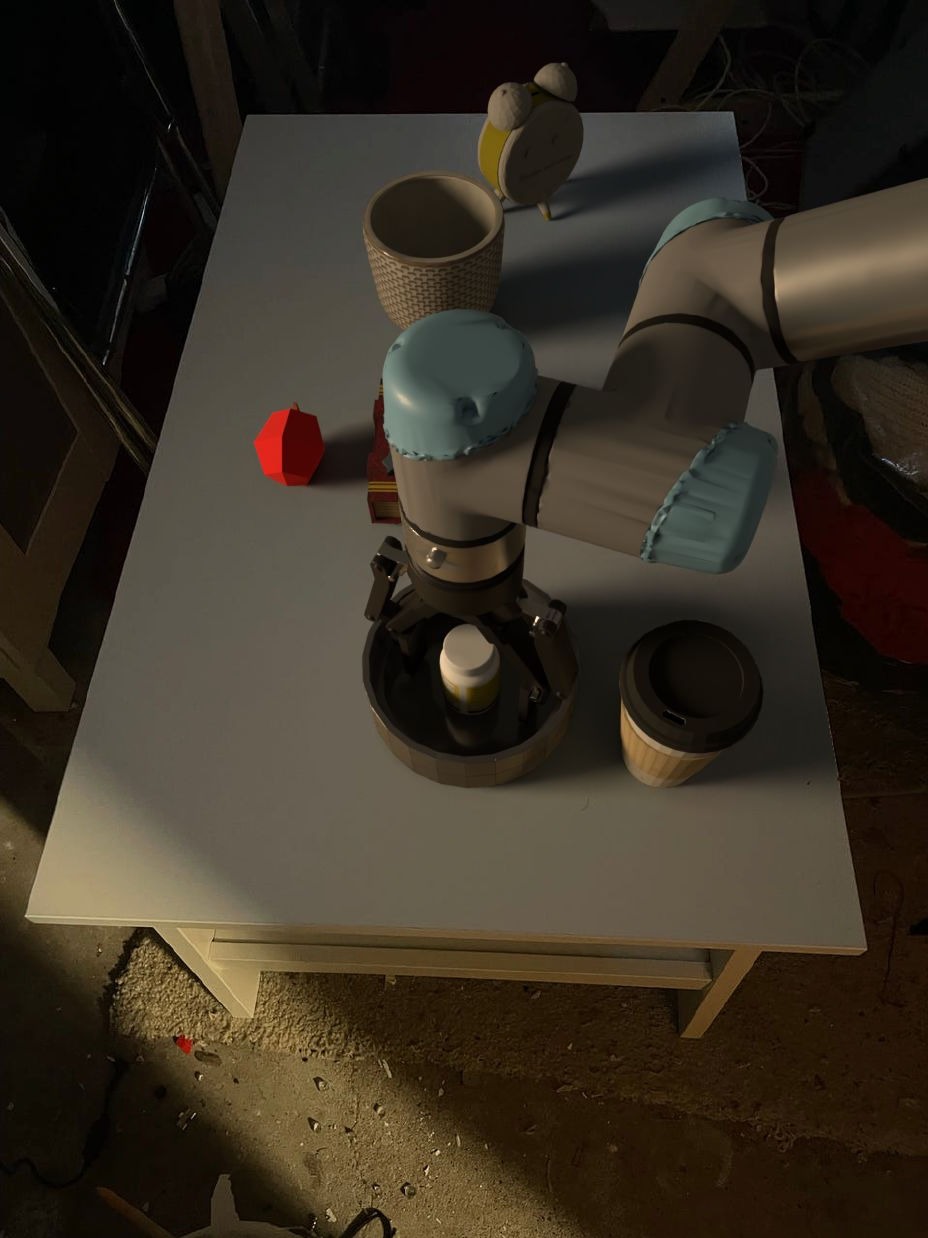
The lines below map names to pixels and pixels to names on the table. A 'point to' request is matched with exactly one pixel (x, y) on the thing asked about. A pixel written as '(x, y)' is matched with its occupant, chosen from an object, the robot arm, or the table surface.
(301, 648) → the table surface
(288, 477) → the apple
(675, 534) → the robot arm
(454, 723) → the bowl
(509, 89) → the alarm clock
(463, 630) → the supplement bottle
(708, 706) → the coffee cup
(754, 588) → the table surface
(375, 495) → the decorative book
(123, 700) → the table surface
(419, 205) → the planter
